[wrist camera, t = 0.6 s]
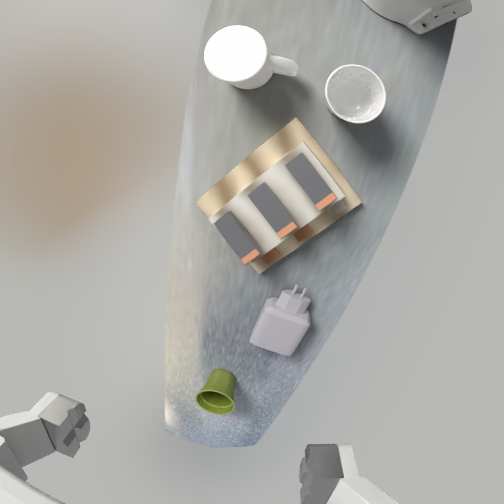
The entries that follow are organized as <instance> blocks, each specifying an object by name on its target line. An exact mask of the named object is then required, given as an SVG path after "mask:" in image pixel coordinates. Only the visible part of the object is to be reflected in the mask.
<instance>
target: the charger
mask: <svg viewBox="0 0 504 504" xmlns="http://www.w3.org/2000/svg"><path fill="white" fill-rule="evenodd" d="M297 288H298V285H295V287H294V289H293V290H282V292H281V295H280V297H279V298H276V297H272V298H269V299H267V300H266V302H265V304H264V306H263V308H262V311H261V313H260V315H259V317H258V319H257V321H256V323H255V326H254V328H253V330H252V333H251V337H250V342H251V343H252V344H254V345H256V346H259V347H261V348H264V349H267V350H270V351H273V352H276V353H279V354H282V355H285V356H292V354H293V353H294V351H295V349H296V348H297V346H298V345H299V343H300V341H301V340H302V338H303V336H304V335H305V333H306V332H307V330H308V328H309V327H310V313H309V311H308V309H307V308H308V306H309V304H310V302H311V300H310V299H309V298H308V297H306V296H305V295H304V294H305V292H306V291H307V288H304V290H303V292H302V294H301V293H298V292H296V290H297Z"/></svg>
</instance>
